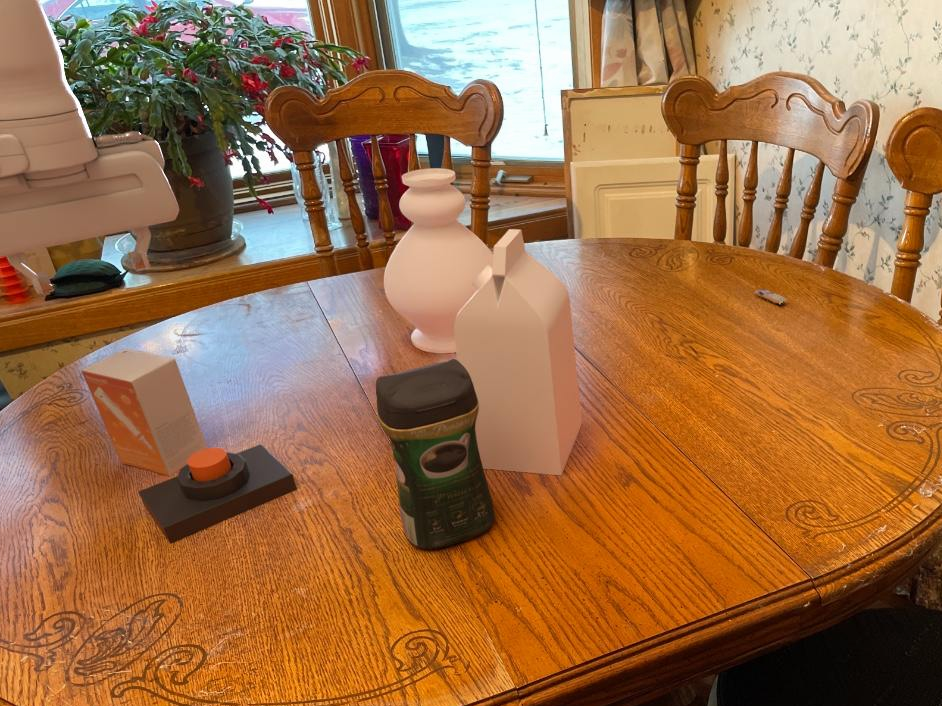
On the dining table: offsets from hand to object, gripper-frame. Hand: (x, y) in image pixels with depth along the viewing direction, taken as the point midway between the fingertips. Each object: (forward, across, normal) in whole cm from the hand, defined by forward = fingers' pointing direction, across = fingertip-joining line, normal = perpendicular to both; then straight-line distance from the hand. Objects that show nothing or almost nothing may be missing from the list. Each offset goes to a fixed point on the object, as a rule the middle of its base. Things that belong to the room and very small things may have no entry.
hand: (95, 279), depth 84 cm
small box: (+23, 0, 0) cm, 23 cm away
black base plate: (+23, -2, +14) cm, 27 cm away
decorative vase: (+23, -45, -5) cm, 51 cm away
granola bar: (+23, -92, +22) cm, 97 cm away
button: (+19, -2, +13) cm, 24 cm away
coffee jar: (+23, -18, +36) cm, 46 cm away
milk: (+23, -34, +29) cm, 50 cm away
